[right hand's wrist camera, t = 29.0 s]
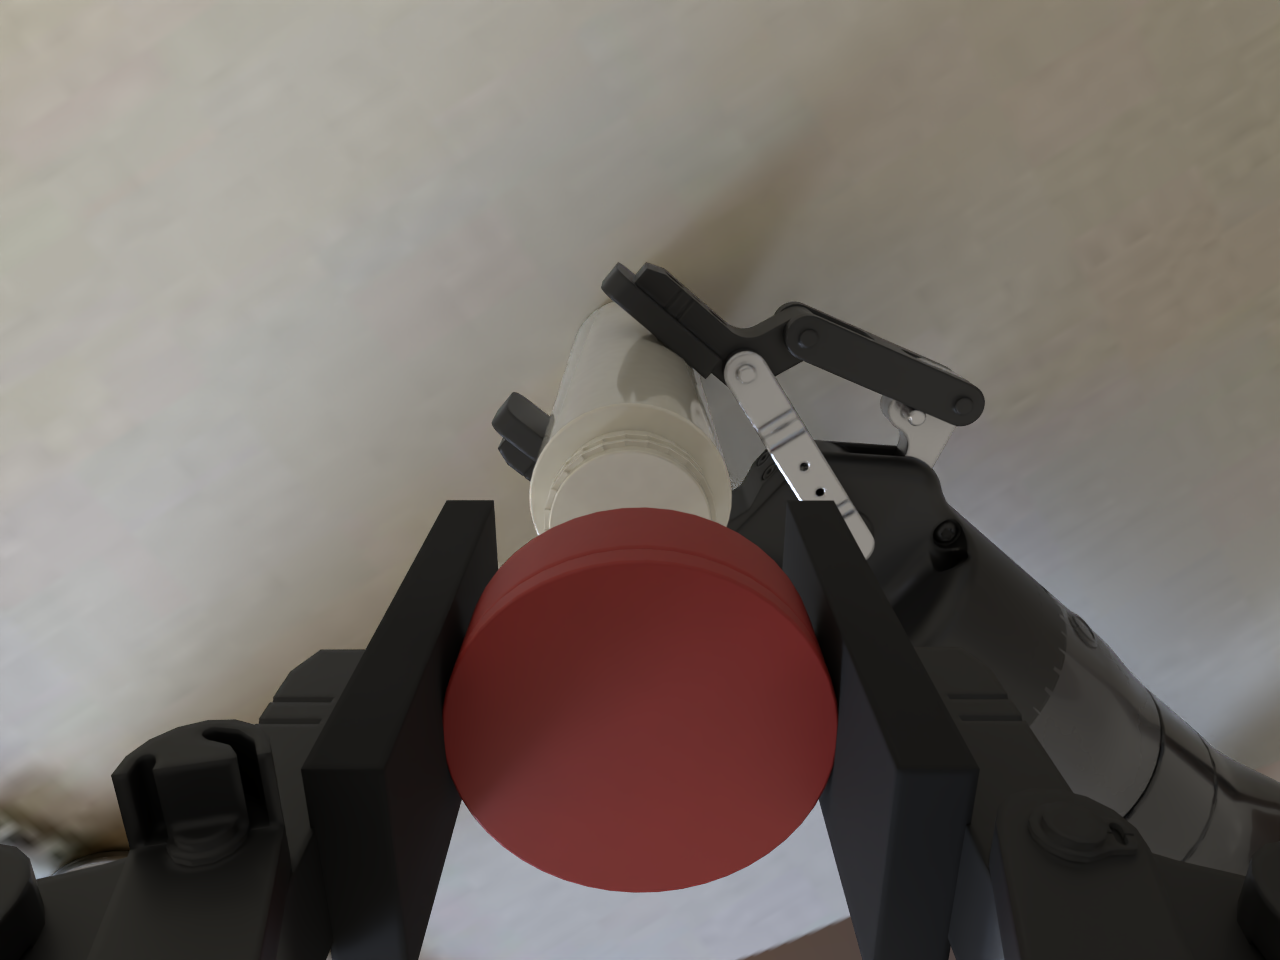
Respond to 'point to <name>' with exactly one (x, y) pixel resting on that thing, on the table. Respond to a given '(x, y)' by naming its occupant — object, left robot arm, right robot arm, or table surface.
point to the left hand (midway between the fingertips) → (557, 343)
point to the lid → (640, 703)
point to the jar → (628, 431)
